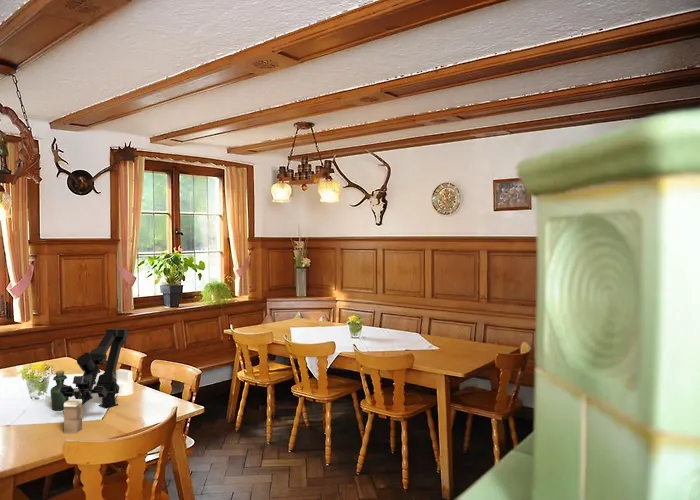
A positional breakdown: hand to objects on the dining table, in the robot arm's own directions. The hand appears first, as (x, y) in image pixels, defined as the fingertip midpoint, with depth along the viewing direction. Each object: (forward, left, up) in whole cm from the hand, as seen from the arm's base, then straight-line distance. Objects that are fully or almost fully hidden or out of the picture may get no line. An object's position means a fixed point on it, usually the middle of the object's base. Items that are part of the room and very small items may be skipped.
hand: (76, 409), depth 220 cm
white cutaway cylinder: (-29, +41, -9) cm, 51 cm away
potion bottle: (-31, +9, -9) cm, 34 cm away
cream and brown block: (+2, -2, -8) cm, 9 cm away
